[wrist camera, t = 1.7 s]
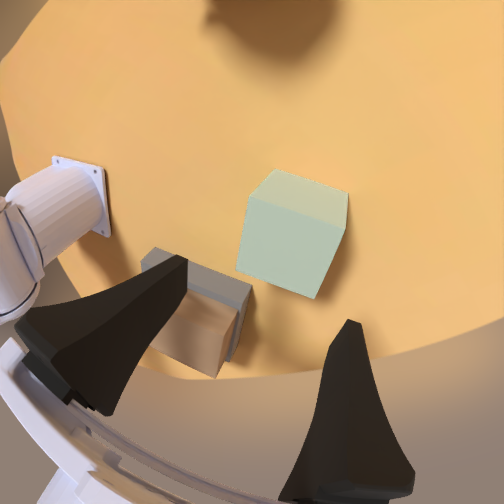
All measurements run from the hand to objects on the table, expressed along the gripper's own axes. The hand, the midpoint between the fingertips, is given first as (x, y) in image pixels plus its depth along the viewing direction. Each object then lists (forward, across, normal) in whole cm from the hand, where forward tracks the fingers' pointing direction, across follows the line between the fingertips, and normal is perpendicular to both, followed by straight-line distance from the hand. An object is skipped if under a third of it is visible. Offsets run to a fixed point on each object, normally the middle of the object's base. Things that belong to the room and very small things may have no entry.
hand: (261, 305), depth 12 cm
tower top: (+7, +6, +13) cm, 16 cm away
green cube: (+9, 0, 0) cm, 9 cm away
